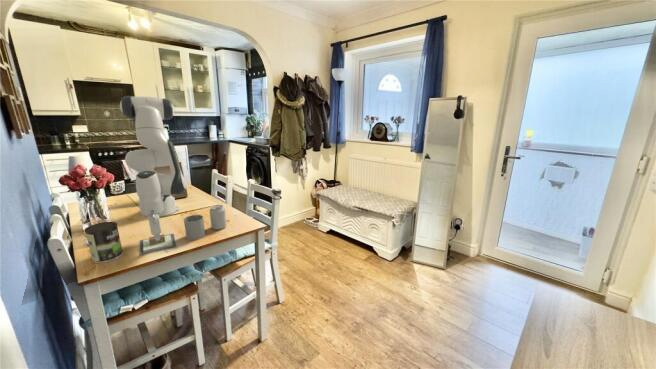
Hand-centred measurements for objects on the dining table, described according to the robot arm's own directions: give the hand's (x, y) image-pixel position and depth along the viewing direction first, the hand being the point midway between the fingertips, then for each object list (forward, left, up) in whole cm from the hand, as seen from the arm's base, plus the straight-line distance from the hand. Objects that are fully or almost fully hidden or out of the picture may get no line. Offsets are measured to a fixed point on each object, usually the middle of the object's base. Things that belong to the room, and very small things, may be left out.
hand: (157, 235), depth 120 cm
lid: (-1, 0, -4) cm, 4 cm away
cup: (0, +16, -5) cm, 16 cm away
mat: (-1, 0, -5) cm, 5 cm away
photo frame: (-74, +9, -5) cm, 74 cm away
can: (-5, +28, -5) cm, 28 cm away
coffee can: (0, -18, -5) cm, 19 cm away
